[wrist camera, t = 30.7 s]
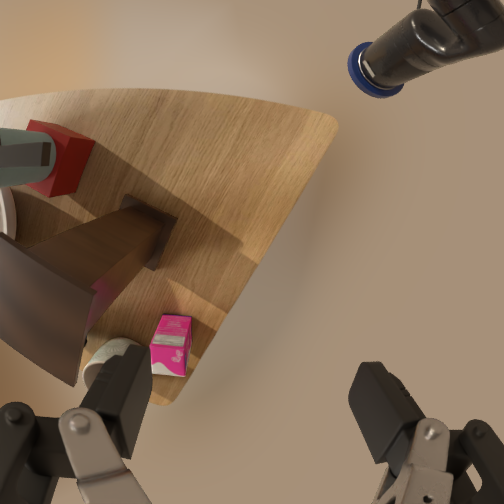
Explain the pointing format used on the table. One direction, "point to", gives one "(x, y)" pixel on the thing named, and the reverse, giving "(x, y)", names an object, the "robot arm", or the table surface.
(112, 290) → the stand
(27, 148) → the lid
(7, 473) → the robot arm
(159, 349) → the supplement box
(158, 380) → the table surface
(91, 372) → the planter
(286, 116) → the table surface
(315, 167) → the table surface
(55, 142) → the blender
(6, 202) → the bowl
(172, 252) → the table surface
